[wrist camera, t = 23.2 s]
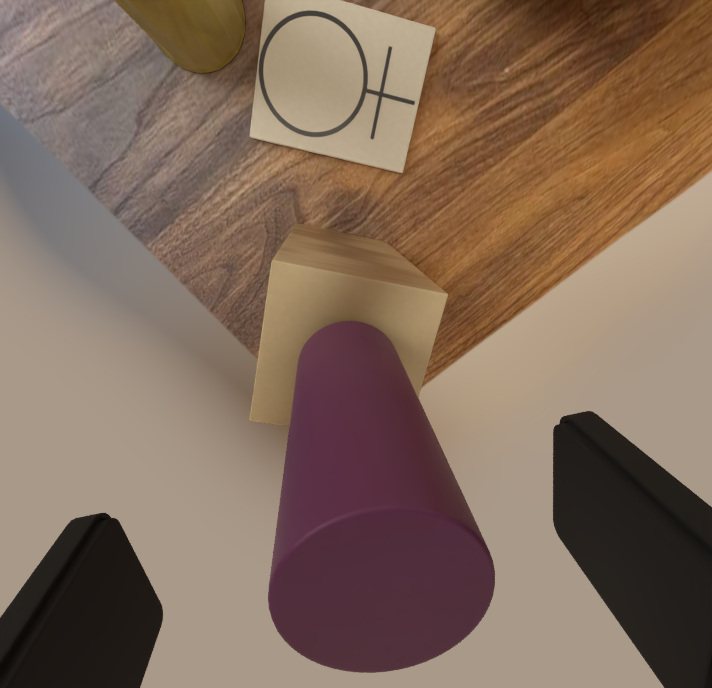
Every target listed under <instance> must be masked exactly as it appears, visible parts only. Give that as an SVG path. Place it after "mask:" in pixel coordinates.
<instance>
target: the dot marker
mask: <svg viewBox="0 0 712 688" xmlns="http://www.w3.org/2000/svg"><path fill="white" fill-rule="evenodd" d="M494 585H495V570H494V565H493V560H492V557H491V555H490V552H489V550H488V548H487V545H486V543H485V541H484V539H483V537H482V535H481V532H480V531H479V528H478V526H477V524H476V522H475V520H474V517H473V515H472V513H471V511H470V509H469V507H468V504H467V502H466V500H465V498H464V496H463V494H462V492H461V489H460V487H459V485H458V483H457V481H456V479H455V476H454V474H453V472H452V470H451V468H450V466H449V464H448V462H447V459H446V457H445V455H444V453H443V450H442V448H441V446H440V444H439V442H438V440H437V438H436V435H435V433H434V431H433V429H432V427H431V425H430V422H429V420H428V418H427V416H426V414H425V412H424V409H423V407H422V405H421V403H420V401H419V399H418V397H417V394H416V392H415V390H414V388H413V386H412V384H411V381H410V379H409V377H408V375H407V373H406V371H405V368H404V366H403V364H402V362H401V360H400V358H399V356H398V353H397V351H396V349H395V347H394V345H393V344H392V342H391V341H390V339H389V338H388V337H387V336H386V335H385V334H384V333H383V332H382V331H380V330H379V329H377V328H375V327H374V326H372V325H369V324H366V323H363V322H358V321H342V322H337V323H333V324H330V325H328V326H325V327H323V328H322V329H320V330H318V331H317V332H316V333H314V334H313V335H312V336H311V337H310V338H309V339H308V341H307V342H306V343H305V345H304V346H303V348H302V350H301V353H300V355H299V359H298V364H297V372H296V380H295V388H294V396H293V403H292V411H291V419H290V427H289V435H288V443H287V451H286V458H285V466H284V474H283V482H282V489H281V498H280V505H279V512H278V521H277V528H276V536H275V544H274V551H273V559H272V567H271V575H270V583H269V592H268V602H269V610H270V613H271V617H272V620H273V622H274V624H275V627H276V629H277V631H278V632H279V634H280V635H281V636H282V638H283V639H284V640H285V641H286V642H287V643H288V644H289V645H290V646H291V647H292V648H293V649H294V650H296V651H297V652H298V653H300V654H301V655H303V656H305V657H306V658H308V659H310V660H311V661H314V662H316V663H319V664H321V665H324V666H327V667H330V668H334V669H339V670H344V671H351V672H367V673H369V672H370V673H372V672H373V673H374V672H386V671H393V670H399V669H403V668H407V667H411V666H415V665H417V664H420V663H423V662H426V661H428V660H430V659H433V658H435V657H437V656H439V655H441V654H443V653H444V652H446V651H448V650H449V649H451V648H452V647H454V646H455V645H457V644H458V643H459V642H461V641H462V640H463V639H464V638H465V637H467V635H469V634H470V633H471V632H472V631H473V630H474V628H475V627H476V626H477V625H478V624H479V622H480V621H481V620H482V618H483V617H484V615H485V613H486V611H487V609H488V607H489V605H490V602H491V600H492V597H493V591H494Z"/></svg>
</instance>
